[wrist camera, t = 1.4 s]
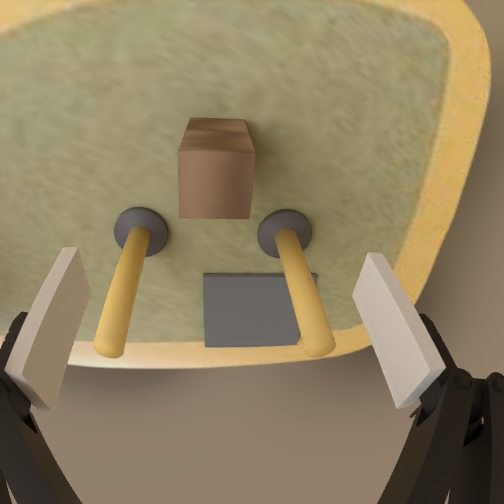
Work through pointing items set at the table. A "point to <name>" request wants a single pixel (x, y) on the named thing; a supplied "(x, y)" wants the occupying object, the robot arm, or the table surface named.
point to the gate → (271, 241)
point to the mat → (249, 311)
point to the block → (216, 169)
